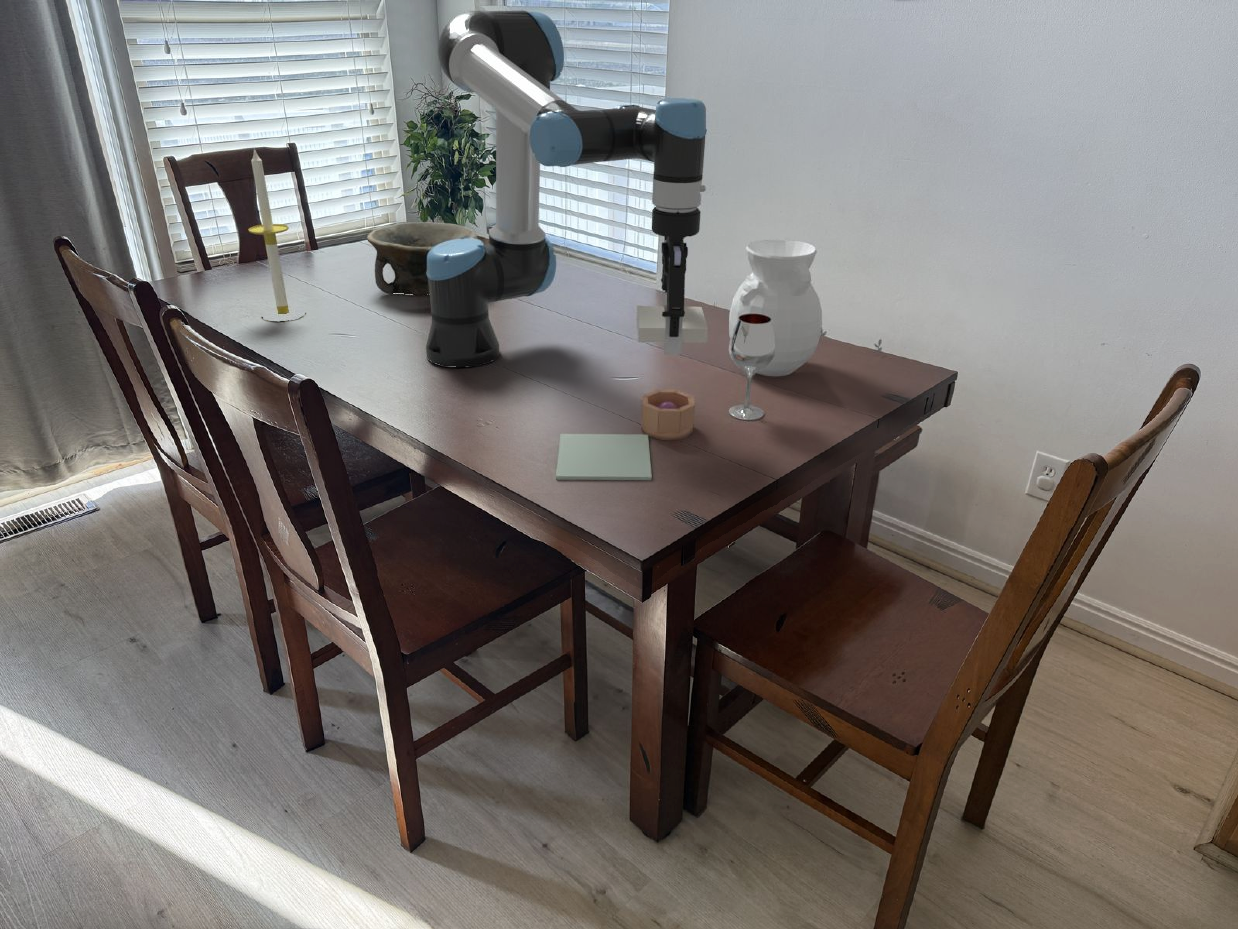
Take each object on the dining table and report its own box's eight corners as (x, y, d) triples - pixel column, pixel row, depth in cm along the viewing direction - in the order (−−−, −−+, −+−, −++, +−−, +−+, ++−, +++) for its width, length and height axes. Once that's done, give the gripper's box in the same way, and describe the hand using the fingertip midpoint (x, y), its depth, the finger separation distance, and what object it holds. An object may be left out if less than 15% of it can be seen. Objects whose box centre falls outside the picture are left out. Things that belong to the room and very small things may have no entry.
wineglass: (720, 404, 161) (727, 311, 153) (763, 403, 162) (772, 310, 153) (728, 423, 154) (736, 326, 146) (773, 421, 155) (783, 326, 146)
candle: (271, 325, 197) (239, 152, 179) (254, 314, 204) (222, 147, 186) (313, 316, 203) (286, 148, 185) (295, 306, 210) (268, 143, 192)
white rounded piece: (709, 359, 182) (716, 240, 170) (783, 347, 188) (795, 232, 177) (755, 391, 167) (767, 263, 155) (834, 378, 173) (851, 254, 161)
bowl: (501, 286, 226) (498, 229, 219) (430, 313, 206) (424, 250, 199) (425, 270, 238) (420, 215, 231) (352, 294, 219) (344, 234, 212)
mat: (555, 479, 135) (555, 476, 135) (560, 437, 148) (560, 433, 148) (651, 480, 135) (651, 476, 135) (647, 437, 148) (647, 434, 148)
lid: (638, 341, 138) (639, 316, 136) (636, 319, 148) (637, 295, 146) (706, 342, 138) (708, 317, 136) (700, 320, 148) (702, 296, 146)
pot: (642, 440, 148) (643, 410, 145) (640, 417, 156) (641, 389, 153) (694, 440, 148) (696, 411, 145) (690, 418, 156) (691, 390, 153)
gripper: (708, 225, 123) (698, 367, 134) (694, 192, 144) (686, 318, 154) (655, 224, 123) (650, 367, 134) (649, 191, 144) (645, 317, 154)
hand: (670, 341), depth 144 cm, fingers closed on lid, 11 cm apart
